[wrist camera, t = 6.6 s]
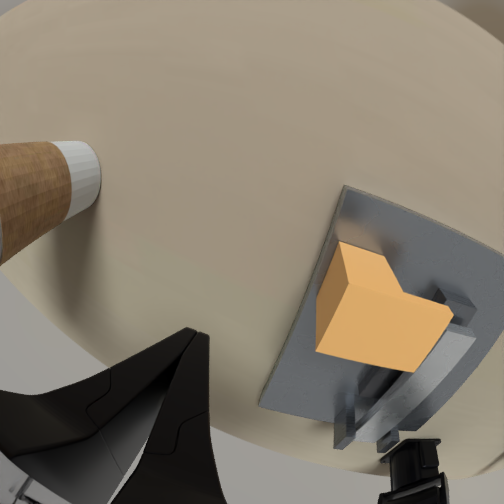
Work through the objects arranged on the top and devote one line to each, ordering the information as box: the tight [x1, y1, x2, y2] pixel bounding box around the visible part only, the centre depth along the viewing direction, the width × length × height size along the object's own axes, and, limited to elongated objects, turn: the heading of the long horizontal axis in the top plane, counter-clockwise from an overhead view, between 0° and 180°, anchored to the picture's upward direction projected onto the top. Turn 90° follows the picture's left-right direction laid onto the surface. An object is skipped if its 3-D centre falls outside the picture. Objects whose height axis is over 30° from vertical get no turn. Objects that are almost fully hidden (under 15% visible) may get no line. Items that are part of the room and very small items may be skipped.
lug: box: [315, 241, 454, 373], centre depth 14 cm, size 4×6×5 cm, turn 76°
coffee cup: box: [0, 141, 101, 266], centre depth 12 cm, size 8×8×15 cm
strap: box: [353, 323, 476, 443], centre depth 17 cm, size 14×3×1 cm, turn 166°
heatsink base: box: [259, 185, 504, 453], centre depth 17 cm, size 20×18×5 cm
